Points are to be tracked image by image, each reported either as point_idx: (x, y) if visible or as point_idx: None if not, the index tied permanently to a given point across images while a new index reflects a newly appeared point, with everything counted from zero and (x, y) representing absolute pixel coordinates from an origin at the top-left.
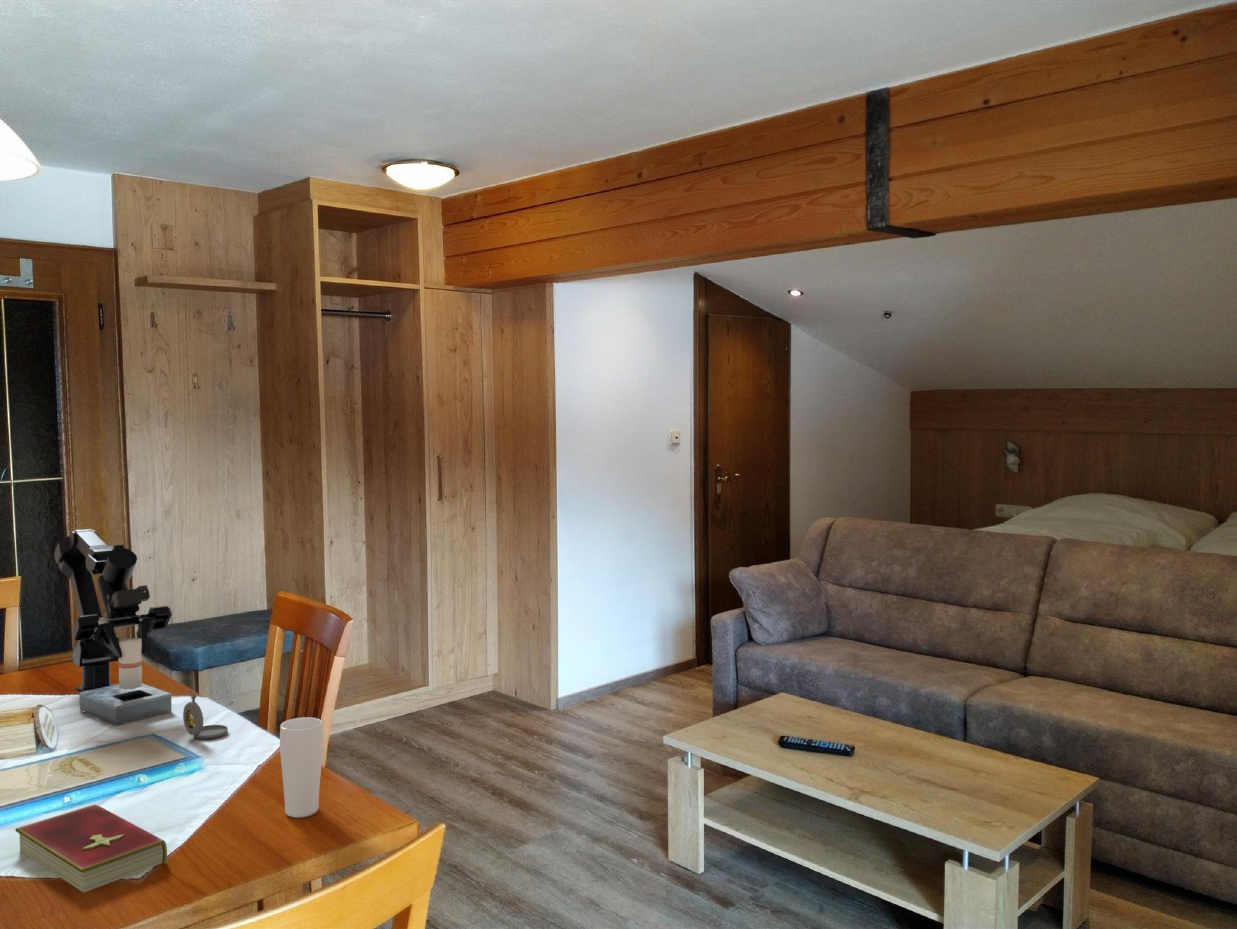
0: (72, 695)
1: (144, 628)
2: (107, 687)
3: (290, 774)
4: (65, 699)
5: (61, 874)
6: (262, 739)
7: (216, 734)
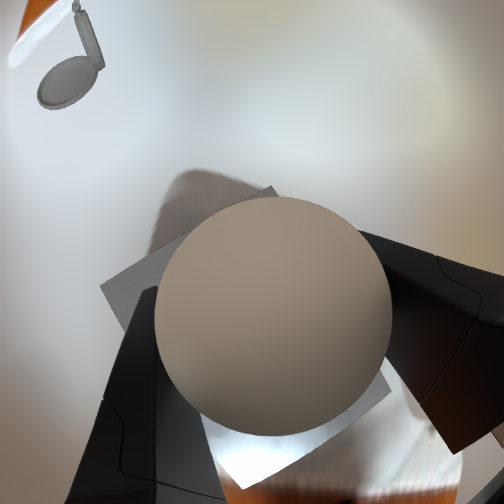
0: (378, 490)
1: (115, 499)
2: (320, 433)
3: None
4: (392, 465)
5: None
6: (19, 61)
7: (65, 60)
